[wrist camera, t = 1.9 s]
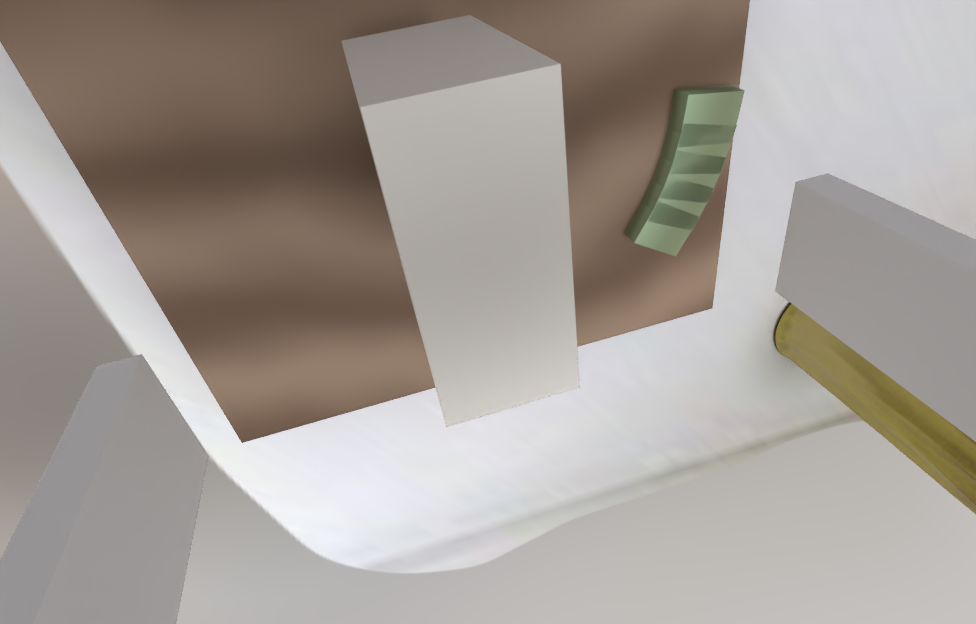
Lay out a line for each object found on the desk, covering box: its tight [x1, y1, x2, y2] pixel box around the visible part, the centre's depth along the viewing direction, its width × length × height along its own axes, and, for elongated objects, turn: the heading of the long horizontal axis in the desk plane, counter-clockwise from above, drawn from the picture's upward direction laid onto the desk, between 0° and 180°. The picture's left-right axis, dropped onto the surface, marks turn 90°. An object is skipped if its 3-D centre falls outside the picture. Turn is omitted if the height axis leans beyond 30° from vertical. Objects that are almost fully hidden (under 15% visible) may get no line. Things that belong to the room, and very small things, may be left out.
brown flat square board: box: [0, 0, 750, 443], centre depth 21 cm, size 24×24×3 cm
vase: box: [775, 303, 976, 514], centre depth 29 cm, size 6×6×14 cm
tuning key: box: [341, 15, 580, 427], centre depth 18 cm, size 16×4×10 cm, turn 8°
